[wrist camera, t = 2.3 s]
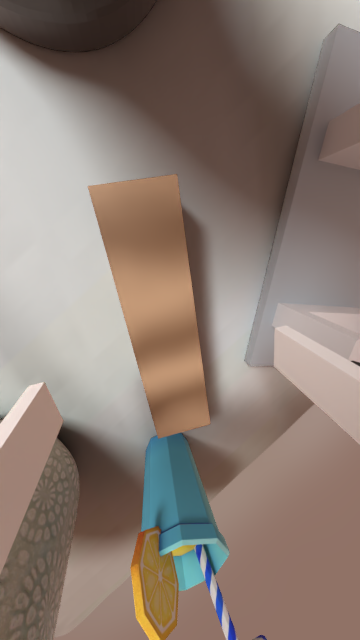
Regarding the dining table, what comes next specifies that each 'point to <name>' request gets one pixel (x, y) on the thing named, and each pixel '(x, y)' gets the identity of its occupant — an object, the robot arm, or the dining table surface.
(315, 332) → the bracket board
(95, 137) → the dining table surface
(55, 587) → the planter
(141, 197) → the rail
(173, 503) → the cup
